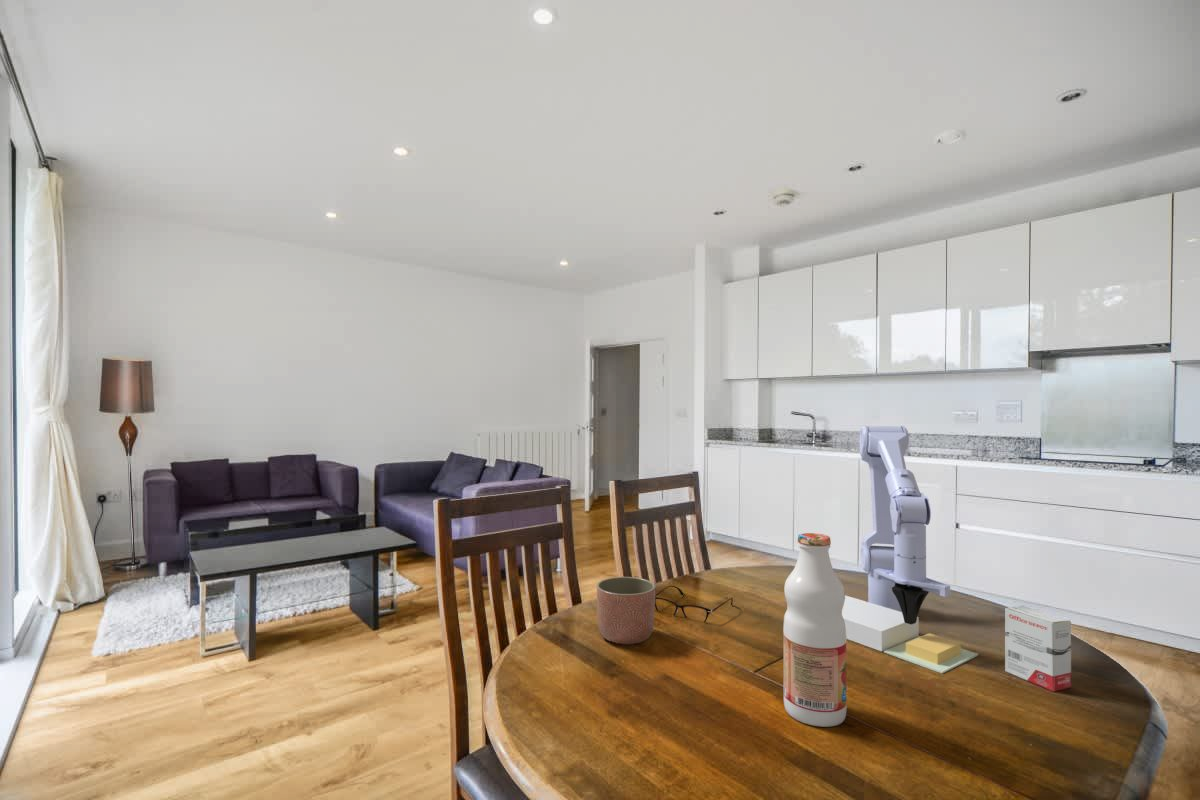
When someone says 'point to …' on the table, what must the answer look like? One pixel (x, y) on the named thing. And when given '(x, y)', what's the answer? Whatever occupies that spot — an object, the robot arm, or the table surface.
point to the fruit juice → (814, 637)
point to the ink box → (1038, 647)
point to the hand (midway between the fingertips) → (910, 622)
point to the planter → (626, 609)
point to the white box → (876, 625)
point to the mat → (941, 668)
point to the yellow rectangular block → (933, 648)
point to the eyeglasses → (687, 605)
